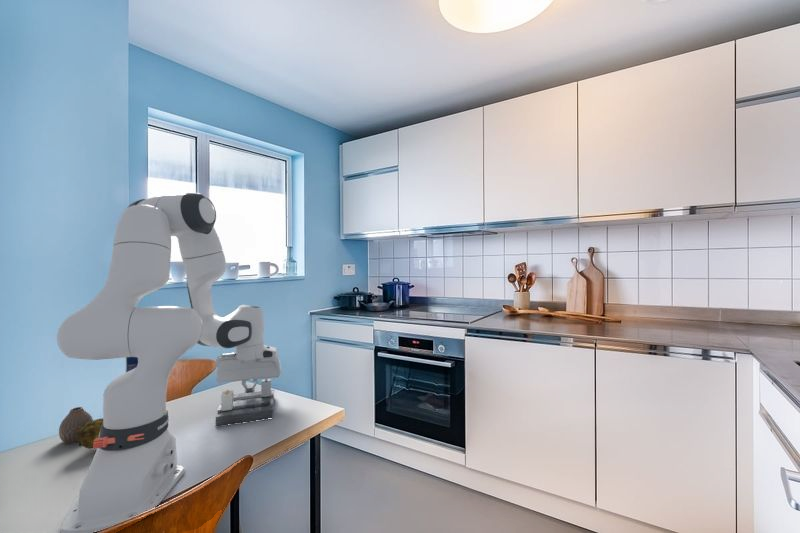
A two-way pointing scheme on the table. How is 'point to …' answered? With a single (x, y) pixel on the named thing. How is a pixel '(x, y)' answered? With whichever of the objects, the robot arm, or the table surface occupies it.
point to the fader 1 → (227, 400)
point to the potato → (89, 433)
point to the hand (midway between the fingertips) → (249, 392)
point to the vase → (73, 424)
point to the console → (247, 409)
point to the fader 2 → (266, 388)
